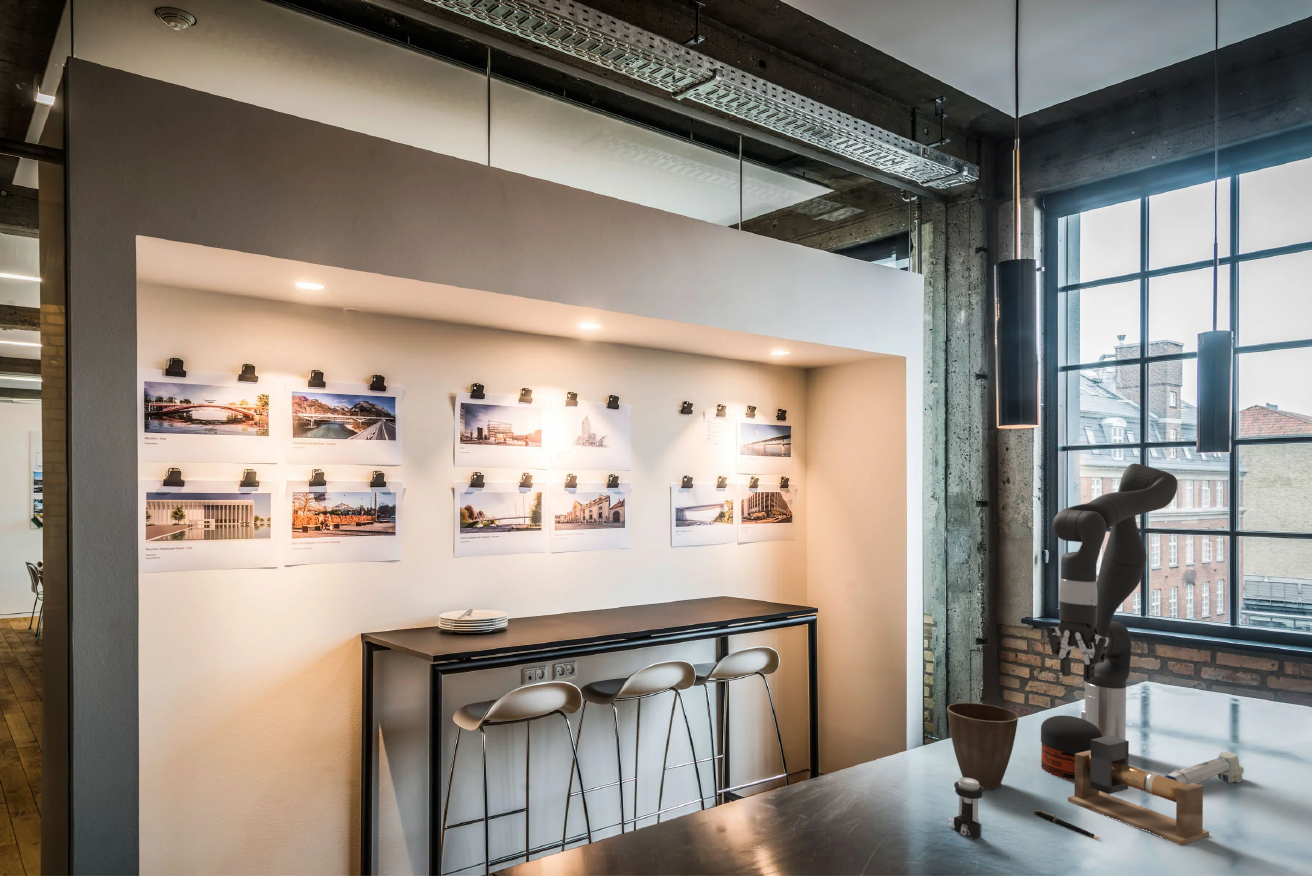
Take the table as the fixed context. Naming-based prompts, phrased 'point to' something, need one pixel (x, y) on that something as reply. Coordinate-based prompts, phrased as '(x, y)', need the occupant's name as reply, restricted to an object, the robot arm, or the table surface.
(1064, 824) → the fountain pen
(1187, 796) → the stand
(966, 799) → the push button
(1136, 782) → the pipe
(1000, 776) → the plant pot
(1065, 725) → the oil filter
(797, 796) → the table surface
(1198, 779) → the toothbrush head
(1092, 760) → the collar
